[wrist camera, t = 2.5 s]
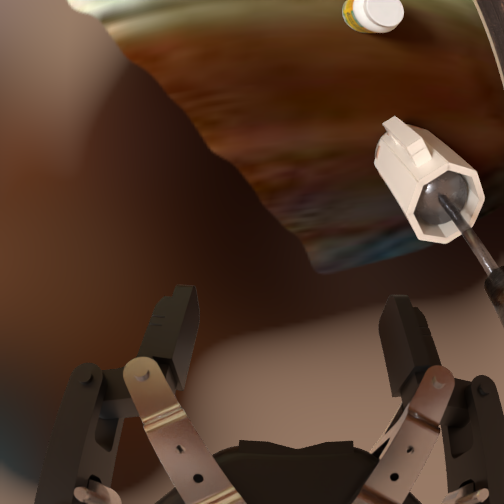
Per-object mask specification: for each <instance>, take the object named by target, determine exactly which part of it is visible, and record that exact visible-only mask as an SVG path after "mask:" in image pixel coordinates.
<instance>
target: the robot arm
mask: <svg viewBox="0 0 504 504" xmlns="http://www.w3.org/2000/svg"><path fill="white" fill-rule="evenodd" d="M199 320H200V311H199V305H198V298H197V292H196V287H195V286H190V285H177V286H176V287H175V290H174V293H173V296H172V297H167V296H164V297H163V298H162V299H161V300H160V301H159V302H158V303H157V304H156V306H155V309H154V311H153V314H152V317H151V319H150V322H149V325H148V327H147V330H146V333H145V336H144V338H143V341H142V344H141V346H140V349H139V352H138V355H137V357H136V358H135V359H133V360H131V361H130V362H129V363H127V365H126V366H125V367H122V368H118V369H110V370H101V369H100V368H99V367H98V366H97V365H95V364H93V363H84V364H81V365H79V366H78V367H76V368H75V369H74V370H73V372H72V374H71V376H70V379H69V382H68V385H67V387H66V390H65V393H64V396H63V399H62V402H61V405H60V408H59V411H58V414H57V417H56V421H55V424H54V427H53V431H52V434H51V437H50V441H49V444H48V448H47V451H46V455H45V459H44V463H43V467H42V471H41V475H40V480H39V484H38V488H37V493H36V498H35V503H34V504H121V500H120V497H119V496H118V494H117V493H116V492H115V491H114V490H112V489H110V485H111V480H112V474H113V469H114V464H115V458H116V454H117V449H118V444H119V439H120V435H121V430H122V426H123V421H124V418H126V417H136V416H140V417H141V419H142V422H143V427H144V429H145V431H146V434H147V436H148V438H149V440H150V442H151V444H152V446H153V448H154V450H155V451H156V453H157V455H158V457H159V459H160V461H161V463H162V465H163V466H164V468H165V470H166V472H167V473H168V475H169V477H170V479H171V480H172V482H173V484H174V486H175V487H174V488H173V489H172V490H171V491H170V492H168V493H167V494H166V495H165V496H163V497H162V498H161V499H160V500H159V501H157V502H156V503H155V504H422V503H421V502H420V501H418V499H416V498H415V496H414V495H413V494H411V492H410V490H411V488H412V486H413V485H414V483H415V481H416V479H417V478H418V476H419V474H420V472H421V470H422V469H423V466H424V465H425V463H426V461H427V459H428V457H429V455H430V453H431V451H432V449H433V447H434V444H435V443H436V440H437V438H438V436H439V433H440V428H439V427H438V426H439V425H441V428H442V436H443V444H444V452H445V461H446V471H447V482H448V495H447V496H445V498H444V499H443V501H442V504H504V415H503V411H502V407H501V403H500V399H499V395H498V392H497V388H496V386H495V383H494V382H493V381H492V380H491V379H490V378H489V377H487V376H484V375H479V376H477V377H475V378H474V379H473V381H472V382H470V381H465V380H461V379H456V378H454V377H453V375H452V373H451V372H450V371H449V370H448V369H447V368H445V367H443V366H442V365H441V362H440V359H439V356H438V353H437V350H436V347H435V344H434V341H433V338H432V336H431V332H430V330H429V328H428V324H427V321H426V319H425V316H424V315H423V314H422V312H421V311H420V310H419V309H418V308H417V307H412V304H411V302H410V299H409V297H408V296H407V295H390V296H389V298H388V300H387V302H386V305H385V308H384V310H383V313H382V315H381V317H380V320H379V335H380V339H381V344H382V348H383V353H384V357H385V362H386V367H387V372H388V377H389V382H390V387H391V392H392V397H398V396H401V398H402V403H401V404H400V406H399V407H398V409H397V411H396V413H395V415H394V416H393V418H392V420H391V421H390V423H389V425H388V426H387V428H386V430H385V431H384V433H383V434H382V436H381V437H380V439H379V440H378V442H377V443H376V444H375V445H374V447H373V448H372V449H371V451H370V452H367V451H365V450H362V449H359V448H356V447H353V441H342V442H341V441H340V442H325V443H321V444H318V445H313V446H309V447H305V448H301V449H294V448H290V447H286V446H282V445H278V444H274V443H271V442H262V441H261V442H260V441H245V440H239V446H234V447H230V448H227V449H224V450H221V451H219V452H217V453H215V454H213V455H211V453H210V452H209V450H208V449H207V447H206V446H205V444H204V443H203V441H202V439H201V438H200V436H199V435H198V433H197V431H196V430H195V428H194V426H193V425H192V423H191V421H190V420H189V418H188V416H187V415H186V413H185V411H184V410H183V408H182V407H181V406H180V404H179V403H178V401H177V399H176V398H175V396H174V395H175V391H176V390H181V391H183V390H184V386H185V382H186V378H187V373H188V369H189V365H190V360H191V356H192V352H193V348H194V343H195V339H196V335H197V331H198V326H199Z"/></svg>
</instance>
